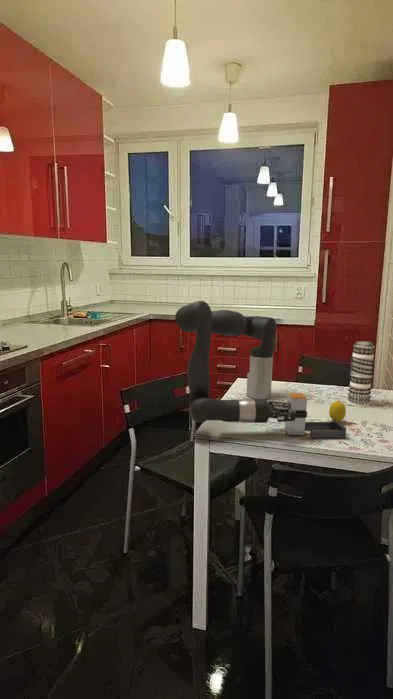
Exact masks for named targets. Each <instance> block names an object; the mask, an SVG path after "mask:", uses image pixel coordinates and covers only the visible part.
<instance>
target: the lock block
mask: <svg viewBox="0 0 393 699" xmlns="http://www.w3.org/2000/svg"><path fill="white" fill-rule="evenodd" d="M286 403H287V407H286V408H288V409H289V410H295V411H307V404H308V398H307V396H306V395H305V394H304V393H303V392H288V394H286ZM288 413H289V412H288ZM289 416H291V415H289ZM306 419H307V418H295V421H286V422H284V430H285V432H286V433H287V434H288V436H305V431H306V430H305V422H306Z"/></svg>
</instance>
